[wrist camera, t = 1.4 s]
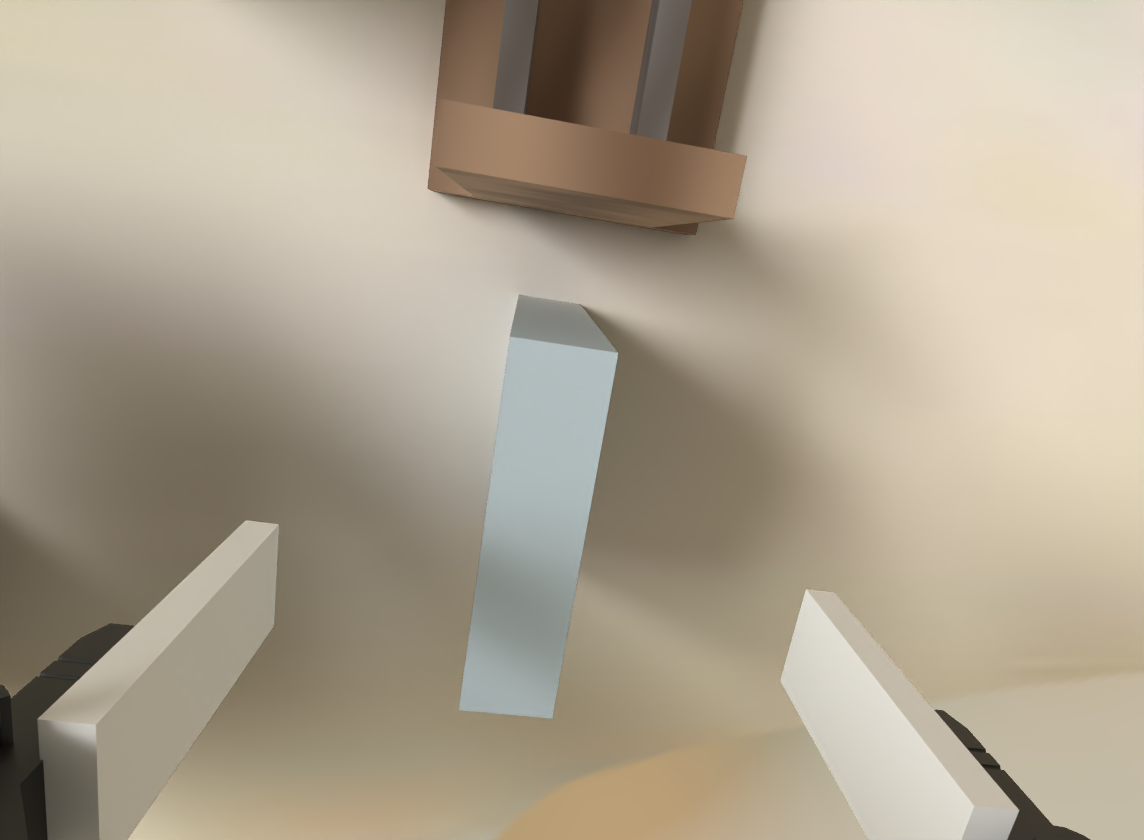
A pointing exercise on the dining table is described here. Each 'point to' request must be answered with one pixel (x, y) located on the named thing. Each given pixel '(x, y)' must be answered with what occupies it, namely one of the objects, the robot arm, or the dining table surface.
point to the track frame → (588, 108)
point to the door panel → (537, 507)
